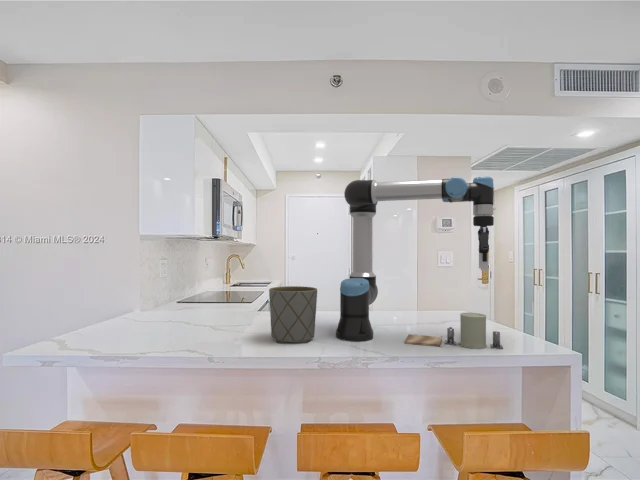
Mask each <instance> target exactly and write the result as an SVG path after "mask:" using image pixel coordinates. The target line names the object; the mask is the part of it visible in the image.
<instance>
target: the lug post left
mask: <svg viewBox="0 0 640 480" xmlns="http://www.w3.org/2000/svg"><path fill="white" fill-rule="evenodd" d="M446 329H447V330H446V331H447V332H446V338H447V339H446V340H444V345H448V344H449V345H450V346H457V340H455V328H453V327H452V326H449V327H447V328H446Z"/></svg>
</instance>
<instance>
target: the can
mask: <svg viewBox="0 0 640 480" xmlns="http://www.w3.org/2000/svg"><path fill="white" fill-rule="evenodd" d="M459 316H460V317H459V318H460V320H459V321H460V322H459V323H460V338H459V339H460V341H459V345H460V346H461V347H464V348H469V349H475V348H478V350H480V349H479V348H482V349H485V348H487V315H486V314H483V313H478V312H461V313H460V314H459Z"/></svg>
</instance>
